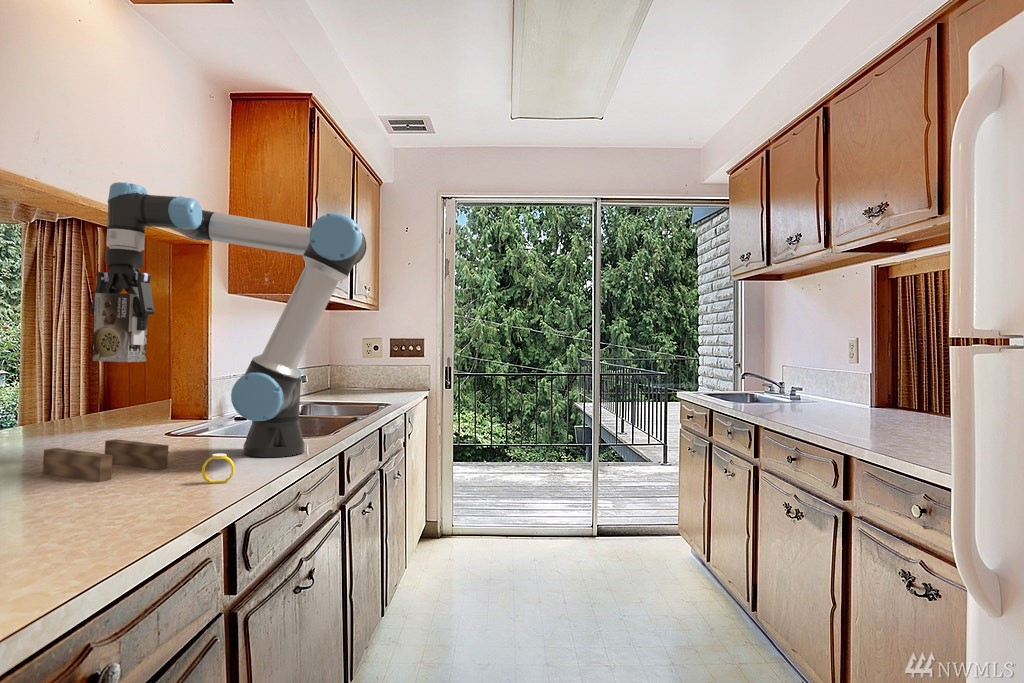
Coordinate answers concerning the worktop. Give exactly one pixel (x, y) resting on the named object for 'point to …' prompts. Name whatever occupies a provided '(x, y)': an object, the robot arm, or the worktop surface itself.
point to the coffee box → (116, 329)
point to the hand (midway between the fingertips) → (120, 343)
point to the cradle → (104, 459)
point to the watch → (218, 456)
